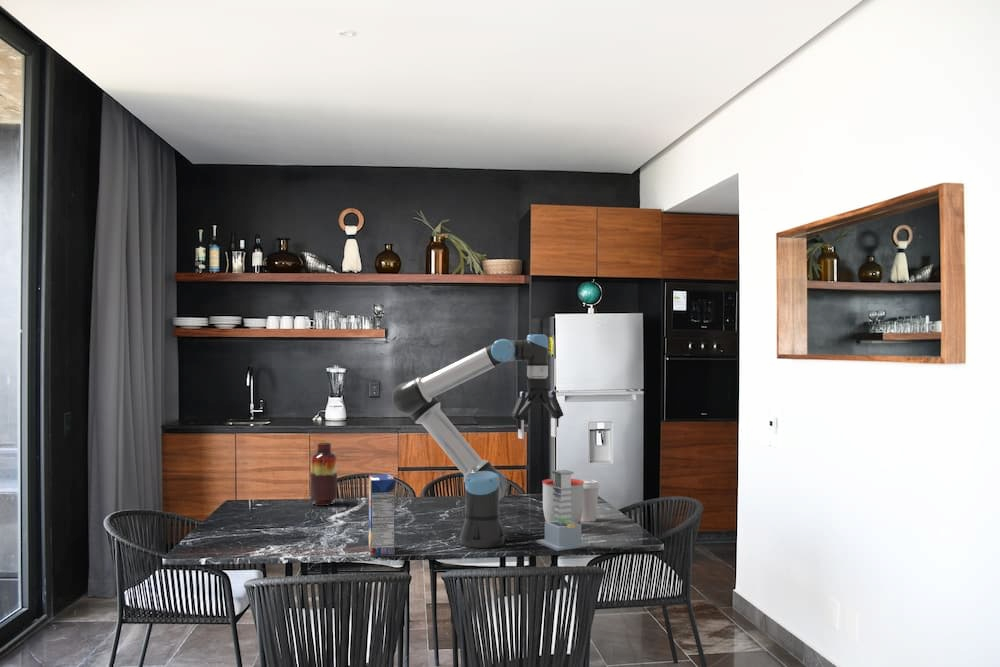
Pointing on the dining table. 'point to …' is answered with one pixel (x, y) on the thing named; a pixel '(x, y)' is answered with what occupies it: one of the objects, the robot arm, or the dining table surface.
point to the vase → (323, 475)
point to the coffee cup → (590, 500)
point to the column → (562, 497)
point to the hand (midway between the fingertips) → (537, 437)
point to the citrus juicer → (576, 498)
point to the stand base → (562, 536)
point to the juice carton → (381, 515)
